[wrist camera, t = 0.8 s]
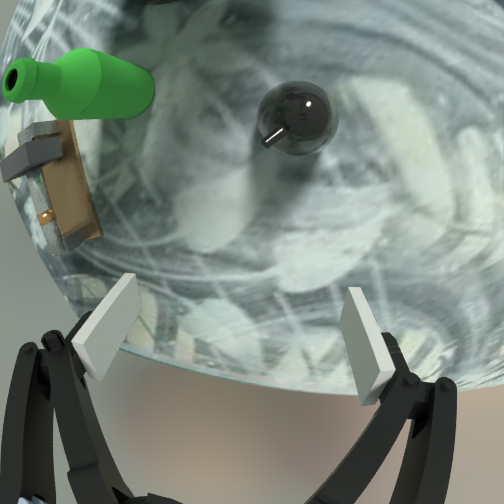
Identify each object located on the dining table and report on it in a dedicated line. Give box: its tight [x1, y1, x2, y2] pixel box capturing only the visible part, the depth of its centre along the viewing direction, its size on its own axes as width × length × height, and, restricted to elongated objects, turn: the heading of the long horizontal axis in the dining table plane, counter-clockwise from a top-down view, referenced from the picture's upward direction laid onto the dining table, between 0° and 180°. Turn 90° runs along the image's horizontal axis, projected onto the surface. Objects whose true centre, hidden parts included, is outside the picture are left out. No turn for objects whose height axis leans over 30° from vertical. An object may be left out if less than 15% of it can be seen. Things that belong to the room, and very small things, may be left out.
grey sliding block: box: [0, 136, 63, 183], centre depth 31 cm, size 4×8×8 cm, turn 102°
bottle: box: [2, 48, 155, 121], centre depth 23 cm, size 9×9×25 cm
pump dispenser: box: [257, 81, 339, 157], centre depth 29 cm, size 10×10×15 cm
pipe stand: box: [18, 119, 104, 257], centre depth 37 cm, size 24×10×10 cm, turn 12°
